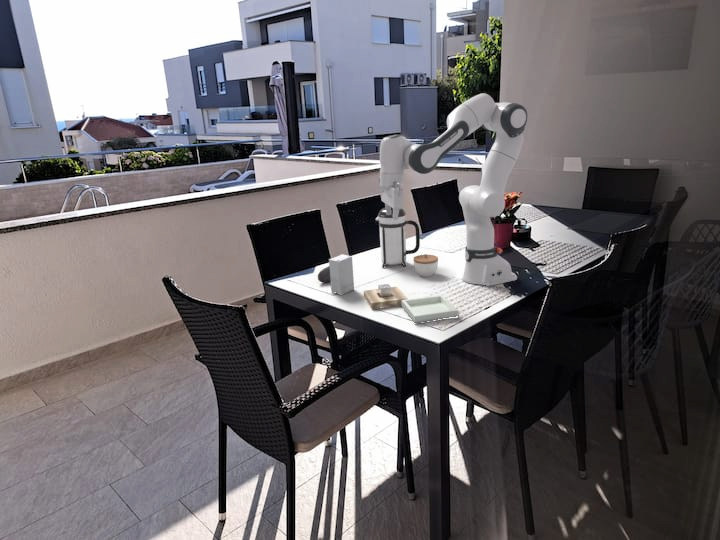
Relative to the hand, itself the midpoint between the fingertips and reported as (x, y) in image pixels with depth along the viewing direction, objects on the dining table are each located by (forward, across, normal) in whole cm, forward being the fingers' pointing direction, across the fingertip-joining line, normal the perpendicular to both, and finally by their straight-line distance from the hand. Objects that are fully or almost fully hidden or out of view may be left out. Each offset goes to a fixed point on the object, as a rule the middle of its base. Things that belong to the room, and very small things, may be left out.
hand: (391, 217), depth 186 cm
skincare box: (+33, +12, +18) cm, 39 cm away
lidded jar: (+31, +20, -21) cm, 43 cm away
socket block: (+32, -4, +4) cm, 33 cm away
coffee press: (+32, +40, -13) cm, 53 cm away
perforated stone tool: (+33, +28, +20) cm, 47 cm away
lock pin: (+32, -4, +4) cm, 33 cm away
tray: (+32, -21, -8) cm, 39 cm away
